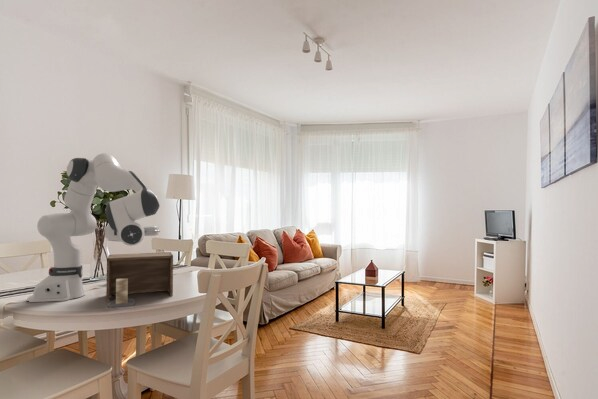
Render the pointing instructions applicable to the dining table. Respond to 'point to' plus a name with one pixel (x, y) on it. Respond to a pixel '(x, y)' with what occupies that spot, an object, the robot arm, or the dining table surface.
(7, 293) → the dining table surface
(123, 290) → the block
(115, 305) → the mat
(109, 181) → the robot arm
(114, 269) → the wooden bench shelf
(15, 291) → the dining table surface
